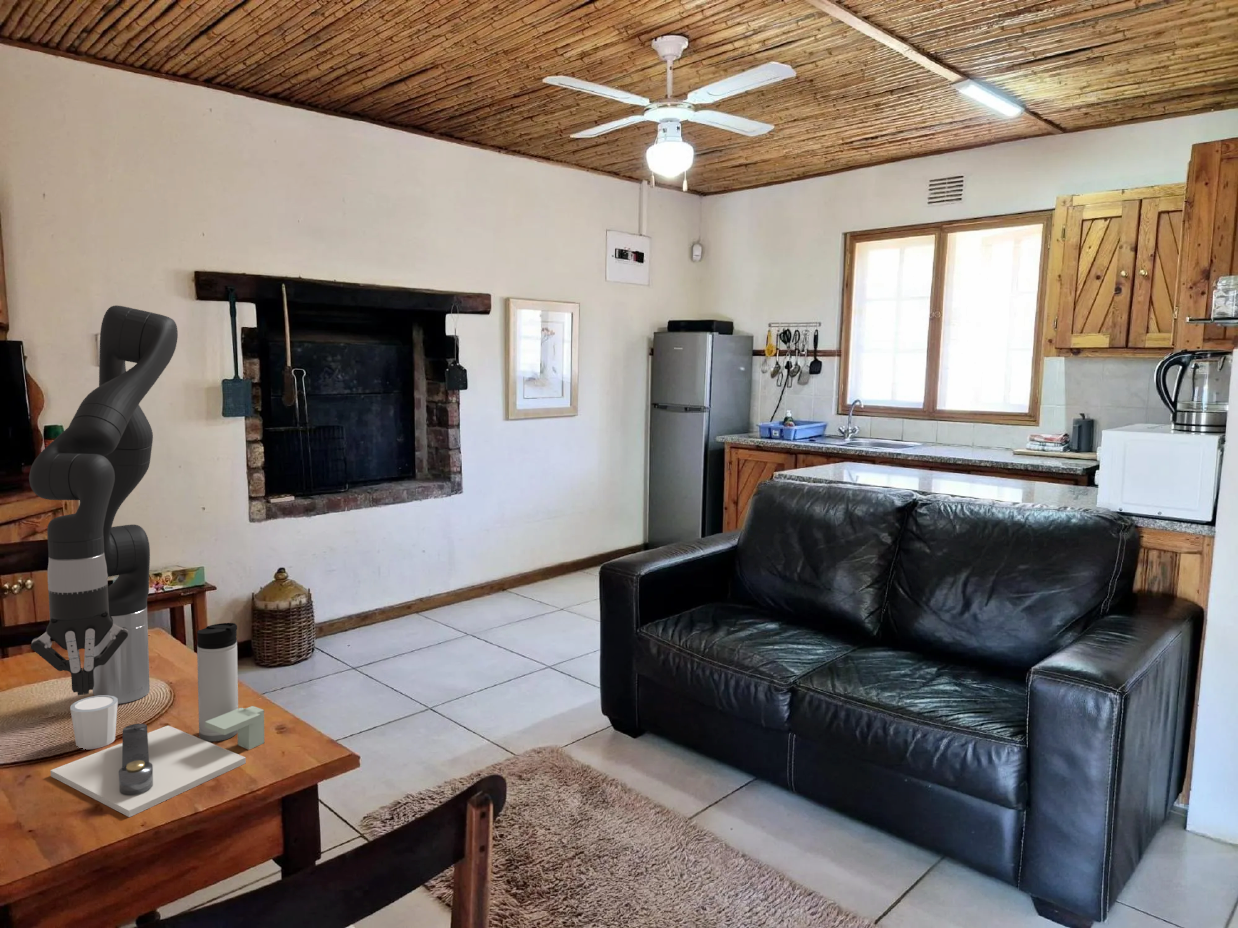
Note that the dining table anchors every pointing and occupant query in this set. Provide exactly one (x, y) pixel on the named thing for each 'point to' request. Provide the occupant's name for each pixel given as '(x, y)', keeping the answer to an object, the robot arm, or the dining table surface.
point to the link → (135, 761)
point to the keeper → (241, 725)
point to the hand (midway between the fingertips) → (83, 692)
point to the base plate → (174, 770)
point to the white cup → (94, 721)
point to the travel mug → (216, 676)
